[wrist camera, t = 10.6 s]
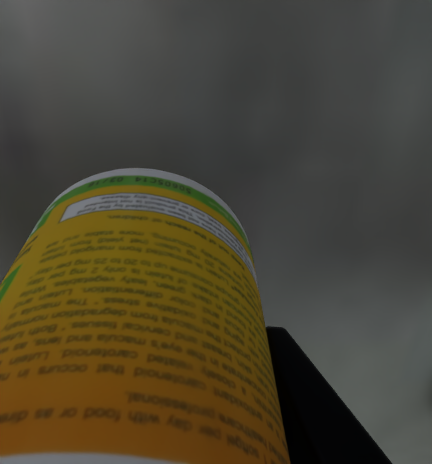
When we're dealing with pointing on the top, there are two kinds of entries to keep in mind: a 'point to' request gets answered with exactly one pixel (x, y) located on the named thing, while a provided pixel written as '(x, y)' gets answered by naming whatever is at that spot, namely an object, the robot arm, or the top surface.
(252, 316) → the supplement bottle
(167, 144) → the top surface
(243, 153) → the top surface
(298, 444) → the robot arm
